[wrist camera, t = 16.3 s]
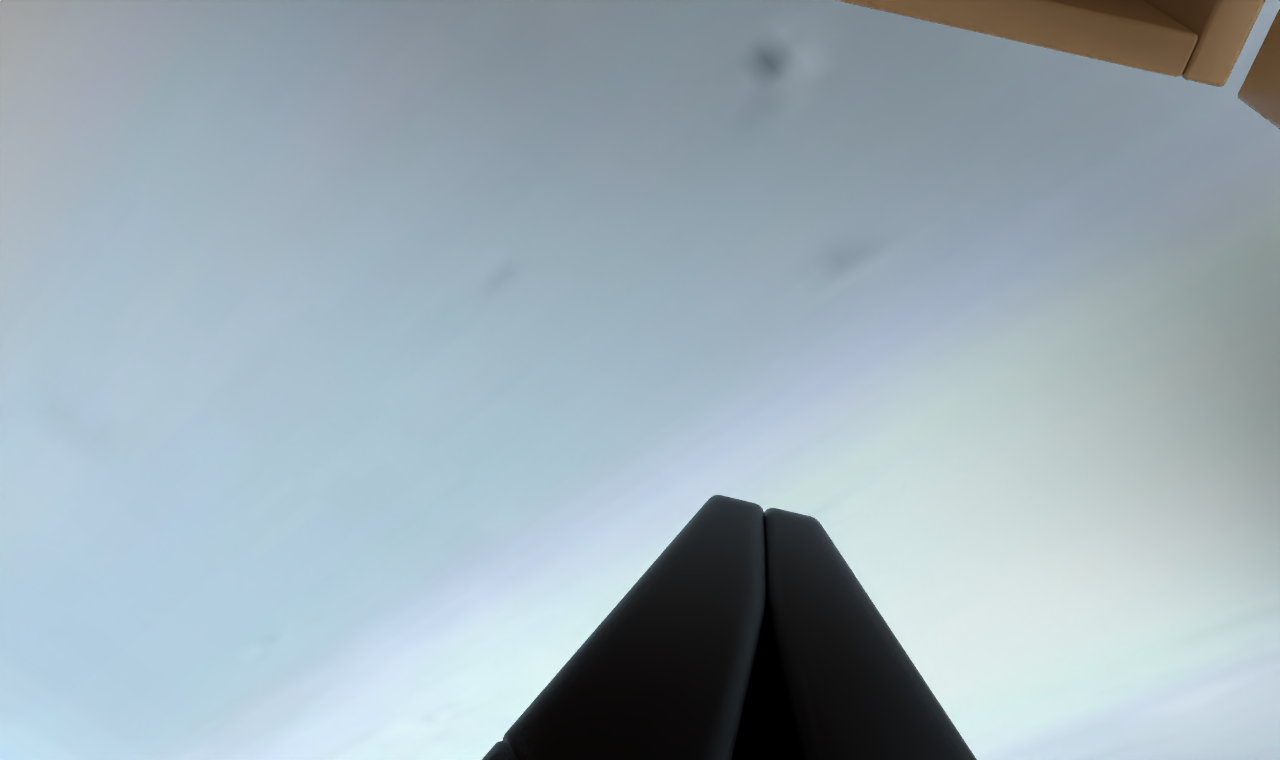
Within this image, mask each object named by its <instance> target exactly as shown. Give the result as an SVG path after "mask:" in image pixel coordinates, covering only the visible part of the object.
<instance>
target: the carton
mask: <svg viewBox="0 0 1280 760" xmlns="http://www.w3.org/2000/svg"><path fill="white" fill-rule="evenodd" d="M837 1H842V2H846V3H851V4H855V5H860V6H864V7H868V8H873V9H877V10H882V11H886V12H891V13H895V14H899V15H904V16H908V17H913V18H917V19H921V20H926V21H930V22H935V23H939V24H944V25H948V26H952V27H957V28H961V29H966V30H970V31H974V32H979V33H983V34H988V35H992V36H997V37H1001V38H1005V39H1010V40H1014V41H1019V42H1023V43H1027V44H1032V45H1036V46H1041V47H1045V48H1050V49H1054V50H1058V51H1063V52H1067V53H1072V54H1076V55H1081V56H1085V57H1089V58H1094V59H1098V60H1103V61H1107V62H1111V63H1116V64H1120V65H1125V66H1129V67H1134V68H1138V69H1142V70H1147V71H1151V72H1156V73H1160V74H1164V75H1169V76H1173V77H1177V76H1180V75H1181V76H1182V77H1183V78H1185V79H1187V80H1191V81H1195V82H1200V83H1204V84H1209V85H1213V86H1217V87H1218V86H1223V85H1224V84H1225V83H1226V81H1227V79H1228V77H1229V75H1230V73H1231V71H1232V69H1233V67H1234V64H1235V62H1236V60H1237V58H1238V56H1239V54H1240V52H1241V50H1242V48H1243V46H1244V44H1245V42H1246V39H1247V37H1248V35H1249V33H1250V31H1251V29H1252V27H1253V25H1254V23H1255V21H1256V19H1257V16H1258V14H1259V12H1260V10H1261V8H1262V6H1263V4H1264V2H1265V0H837Z"/></svg>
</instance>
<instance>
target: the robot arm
mask: <svg viewBox="0 0 1280 760" xmlns="http://www.w3.org/2000/svg"><path fill="white" fill-rule="evenodd" d="M482 760H977V759H976V758H975V756H974V755H973V753H972V752H971V750H970V749H969V747H968V746H967V744H966V743H965V741H964V740H963V738H962V737H961V735H960V734H959V732H958V731H957V729H956V728H955V726H954V725H953V723H952V722H951V720H950V719H949V717H948V716H947V714H946V713H945V711H944V710H943V708H942V706H941V705H940V703H939V702H938V700H937V699H936V697H935V696H934V694H933V693H932V691H931V690H930V688H929V687H928V685H927V684H926V682H925V681H924V679H923V678H922V676H921V675H920V673H919V672H918V670H917V669H916V667H915V666H914V664H913V663H912V661H911V660H910V658H909V657H908V655H907V654H906V652H905V651H904V649H903V648H902V646H901V645H900V643H899V642H898V640H897V639H896V637H895V635H894V634H893V632H892V631H891V629H890V628H889V626H888V625H887V623H886V622H885V620H884V619H883V617H882V616H881V614H880V613H879V611H878V610H877V608H876V607H875V605H874V604H873V602H872V601H871V599H870V598H869V596H868V595H867V593H866V592H865V590H864V589H863V587H862V586H861V584H860V583H859V581H858V580H857V578H856V577H855V575H854V574H853V572H852V571H851V569H850V568H849V566H848V564H847V563H846V561H845V560H844V558H843V557H842V555H841V554H840V552H839V551H838V549H837V548H836V546H835V545H834V543H833V542H832V540H831V539H830V537H829V536H828V534H827V533H826V531H825V530H824V528H823V527H822V525H821V524H820V523H819V522H818V521H817V520H816V519H815V518H813V517H811V516H806V515H802V514H798V513H793V512H789V511H785V510H781V509H776V508H770V509H767V510H766V511H765V512H763V509H762V508H761V507H760V506H759V505H757V504H755V503H751V502H747V501H743V500H739V499H734V498H730V497H726V496H722V495H715V496H713V497H711V498H710V499H709V500H708V501H707V502H706V503H705V504H704V505H703V507H702V508H701V509H700V510H699V511H698V512H697V513H696V515H695V516H694V517H693V518H692V519H691V520H690V522H689V523H688V524H687V525H686V526H685V527H684V528H683V530H682V531H681V532H680V533H679V534H678V535H677V537H676V538H675V539H674V540H673V541H672V542H671V543H670V545H669V546H668V547H667V548H666V549H665V550H664V551H663V553H662V554H661V555H660V556H659V557H658V558H657V560H656V561H655V562H654V563H653V564H652V565H651V566H650V568H649V569H648V570H647V571H646V572H645V573H644V575H643V576H642V577H641V578H640V579H639V580H638V581H637V583H636V584H635V585H634V586H633V587H632V588H631V590H630V591H629V592H628V593H627V594H626V595H625V596H624V598H623V599H622V600H621V601H620V602H619V603H618V604H617V606H616V607H615V608H614V609H613V610H612V611H611V613H610V614H609V615H608V616H607V617H606V618H605V619H604V621H603V622H602V623H601V624H600V625H599V626H598V628H597V629H596V630H595V631H594V632H593V633H592V634H591V636H590V637H589V638H588V639H587V640H586V641H585V643H584V644H583V645H582V646H581V647H580V648H579V649H578V651H577V652H576V653H575V654H574V655H573V656H572V657H571V659H570V660H569V661H568V662H567V663H566V664H565V666H564V667H563V668H562V669H561V670H560V671H559V672H558V674H557V675H556V676H555V677H554V678H553V679H552V681H551V682H550V683H549V684H548V685H547V686H546V687H545V689H544V690H543V691H542V692H541V693H540V694H539V695H538V697H537V698H536V699H535V700H534V701H533V702H532V704H531V705H530V706H529V707H528V708H527V709H526V710H525V712H524V713H523V714H522V715H521V716H520V717H519V719H518V720H517V721H516V722H515V723H514V724H513V725H512V727H511V728H510V729H509V730H508V731H507V732H506V734H505V735H504V738H503V741H500V742H498V743H496V744H495V745H494V746H493V748H492V749H491V750H490V751H489V752H488V753H487V754H486V756H485V757H484V758H483V759H482Z"/></svg>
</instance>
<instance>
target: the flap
mask: <svg viewBox="0 0 1280 760" xmlns="http://www.w3.org/2000/svg"><path fill="white" fill-rule="evenodd" d="M1238 98H1239V99H1240V100H1241V101H1243V102H1244V103H1245V104H1247V105H1248V106H1249V107H1251V108H1252V109H1253V110H1255V111H1256V112H1257V113H1259V114H1260V115H1261V116H1263V117H1264V118H1265V119H1267V120H1268V121H1269V122H1271V123H1272V124H1273V125H1275V126H1276V127H1277V128H1279V129H1280V9H1279V11H1278V13H1277V15H1276V17H1275V19H1274V21H1273V23H1272V25H1271V27H1270V30H1269V32H1268V34H1267V36H1266V38H1265V40H1264V42H1263V44H1262V46H1261V48H1260V50H1259V52H1258V54H1257V56H1256V58H1255V60H1254V62H1253V64H1252V66H1251V68H1250V70H1249V73H1248V75H1247V77H1246V79H1245V81H1244V83H1243V85H1242V87H1241V89H1240V91H1239V93H1238Z"/></svg>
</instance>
